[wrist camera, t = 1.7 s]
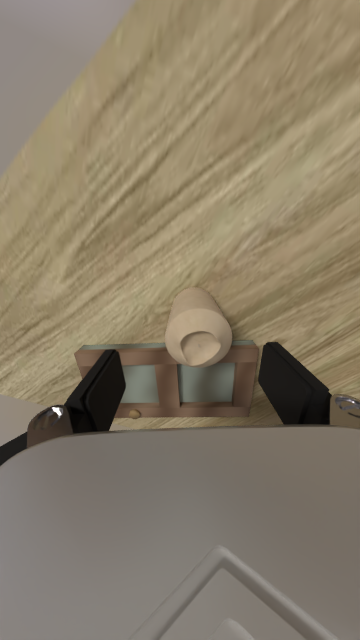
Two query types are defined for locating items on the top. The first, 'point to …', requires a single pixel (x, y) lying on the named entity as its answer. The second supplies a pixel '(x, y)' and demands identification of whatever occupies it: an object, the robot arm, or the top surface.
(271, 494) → the robot arm
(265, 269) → the top surface
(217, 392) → the divided tray
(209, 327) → the candle
